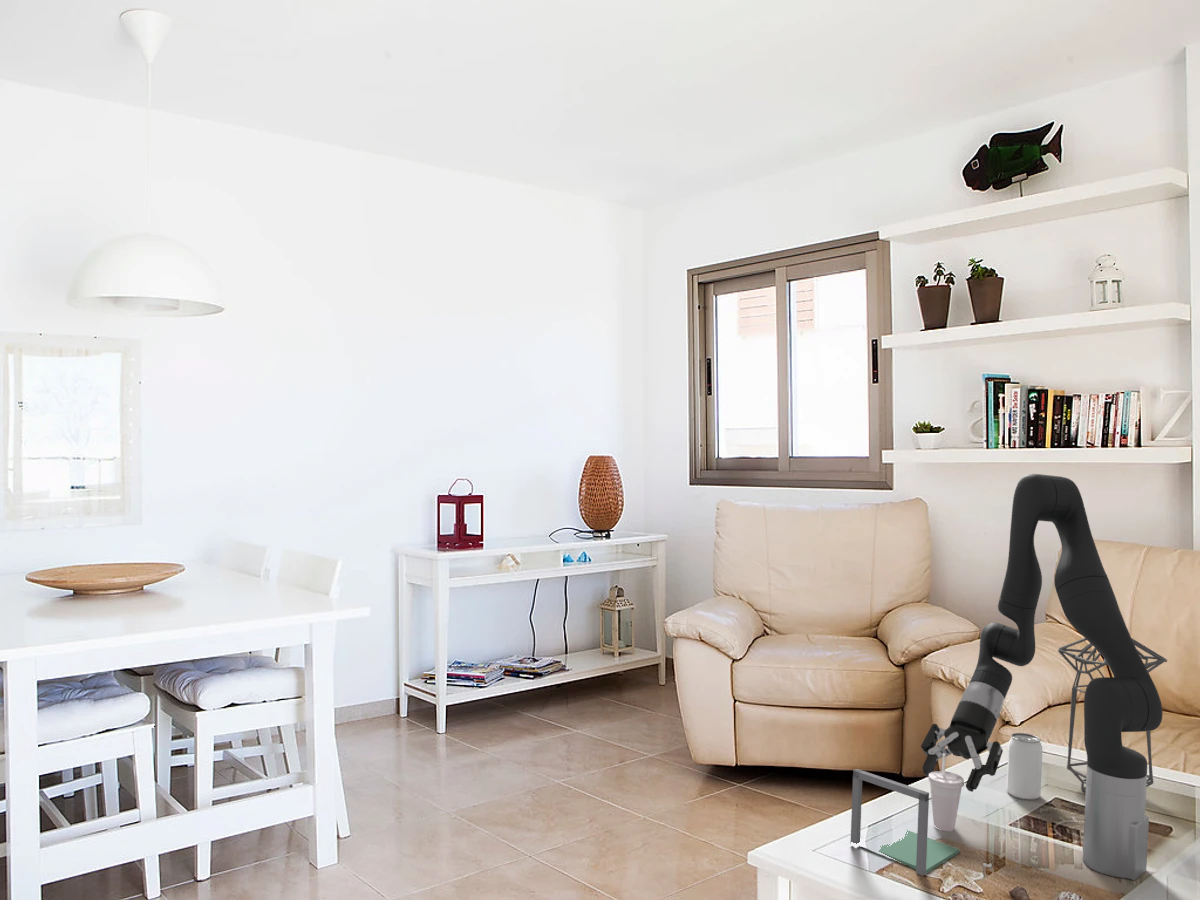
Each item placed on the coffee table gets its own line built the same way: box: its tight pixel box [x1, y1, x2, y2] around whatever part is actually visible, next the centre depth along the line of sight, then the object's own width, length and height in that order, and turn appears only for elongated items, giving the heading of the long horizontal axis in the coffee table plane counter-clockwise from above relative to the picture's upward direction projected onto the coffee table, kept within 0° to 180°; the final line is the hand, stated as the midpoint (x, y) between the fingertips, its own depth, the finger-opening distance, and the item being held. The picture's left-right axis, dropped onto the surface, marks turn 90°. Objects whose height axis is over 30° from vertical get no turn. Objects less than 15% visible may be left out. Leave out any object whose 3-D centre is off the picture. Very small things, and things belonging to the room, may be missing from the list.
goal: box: [850, 768, 960, 877], centre depth 171 cm, size 14×13×14 cm
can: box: [1006, 732, 1043, 801], centre depth 198 cm, size 6×6×12 cm
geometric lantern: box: [1057, 637, 1168, 794], centre depth 199 cm, size 16×16×35 cm
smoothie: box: [927, 753, 965, 832], centre depth 181 cm, size 6×6×14 cm
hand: (947, 782), depth 182 cm, fingers open, 8 cm apart
